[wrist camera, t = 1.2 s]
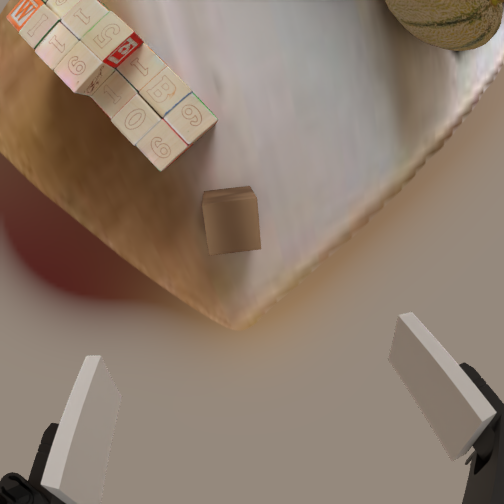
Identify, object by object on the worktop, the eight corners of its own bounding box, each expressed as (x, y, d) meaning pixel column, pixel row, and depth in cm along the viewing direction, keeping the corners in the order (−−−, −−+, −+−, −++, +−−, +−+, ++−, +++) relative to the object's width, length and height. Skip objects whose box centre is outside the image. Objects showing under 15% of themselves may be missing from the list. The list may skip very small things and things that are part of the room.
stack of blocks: (218, 122, 30) (220, 119, 19) (174, 161, 31) (151, 181, 20) (100, 2, 22) (56, -39, 11) (61, 41, 23) (3, 16, 12)
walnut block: (249, 185, 33) (256, 198, 28) (253, 229, 35) (261, 249, 30) (203, 191, 33) (201, 204, 27) (209, 234, 35) (209, 255, 29)
